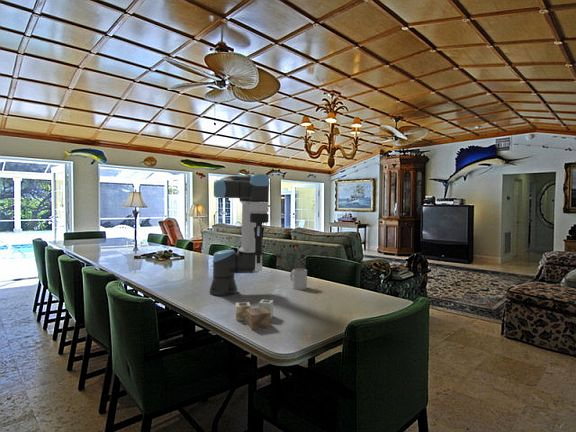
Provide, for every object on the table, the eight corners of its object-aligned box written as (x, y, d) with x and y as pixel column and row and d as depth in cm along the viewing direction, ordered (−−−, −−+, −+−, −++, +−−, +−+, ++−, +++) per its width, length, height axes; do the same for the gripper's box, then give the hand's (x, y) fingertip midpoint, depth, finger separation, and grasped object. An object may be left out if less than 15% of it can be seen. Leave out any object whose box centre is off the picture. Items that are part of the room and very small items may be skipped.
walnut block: (251, 330, 134) (251, 315, 134) (245, 323, 142) (245, 309, 141) (270, 327, 138) (270, 312, 137) (263, 321, 145) (263, 307, 145)
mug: (309, 288, 203) (310, 269, 203) (299, 290, 197) (299, 271, 197) (295, 284, 212) (295, 267, 211) (285, 286, 206) (285, 268, 206)
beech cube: (236, 320, 145) (236, 306, 145) (235, 316, 151) (235, 302, 151) (250, 319, 146) (250, 305, 146) (249, 315, 152) (249, 301, 152)
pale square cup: (258, 318, 148) (258, 302, 148) (262, 315, 153) (262, 299, 152) (269, 319, 147) (270, 303, 146) (273, 316, 152) (273, 299, 151)
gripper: (268, 213, 132) (267, 274, 132) (269, 212, 145) (268, 268, 146) (248, 213, 131) (247, 274, 132) (251, 212, 145) (250, 267, 145)
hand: (258, 270), depth 139 cm, fingers closed
